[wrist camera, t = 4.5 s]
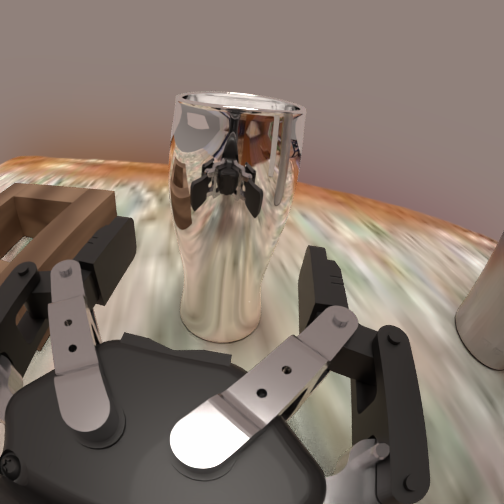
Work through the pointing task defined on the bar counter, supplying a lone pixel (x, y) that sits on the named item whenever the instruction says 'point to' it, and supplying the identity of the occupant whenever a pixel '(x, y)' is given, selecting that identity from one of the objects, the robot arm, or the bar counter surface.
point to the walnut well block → (50, 225)
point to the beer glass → (230, 202)
